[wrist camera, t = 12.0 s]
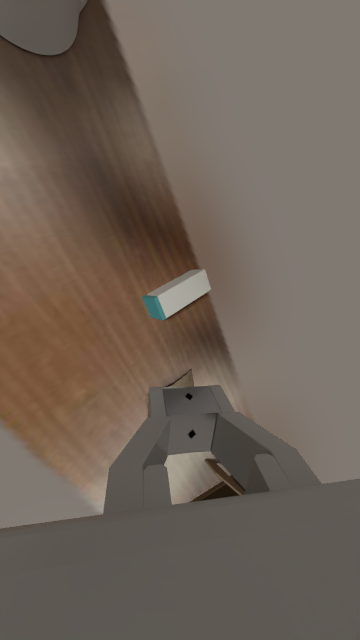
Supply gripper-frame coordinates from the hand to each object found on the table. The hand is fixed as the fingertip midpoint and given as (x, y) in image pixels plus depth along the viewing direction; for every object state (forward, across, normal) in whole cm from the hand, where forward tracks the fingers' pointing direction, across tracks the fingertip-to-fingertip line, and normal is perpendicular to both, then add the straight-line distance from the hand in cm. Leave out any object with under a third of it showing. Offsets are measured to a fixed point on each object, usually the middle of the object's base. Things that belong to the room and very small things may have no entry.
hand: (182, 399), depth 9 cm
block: (+32, +1, -6) cm, 33 cm away
